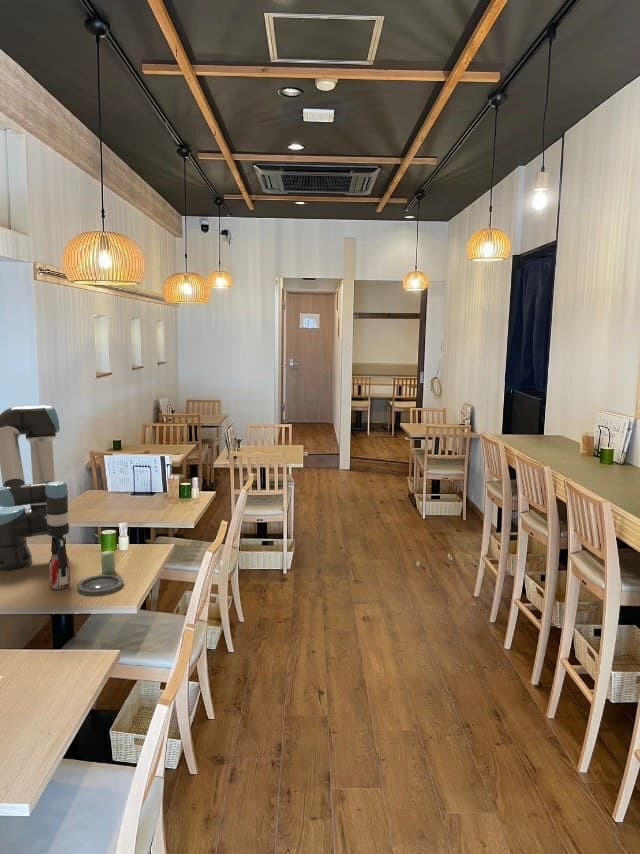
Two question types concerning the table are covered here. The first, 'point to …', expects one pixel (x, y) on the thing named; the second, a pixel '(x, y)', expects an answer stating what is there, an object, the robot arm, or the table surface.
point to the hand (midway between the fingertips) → (60, 578)
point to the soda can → (57, 573)
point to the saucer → (100, 584)
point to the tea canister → (108, 562)
